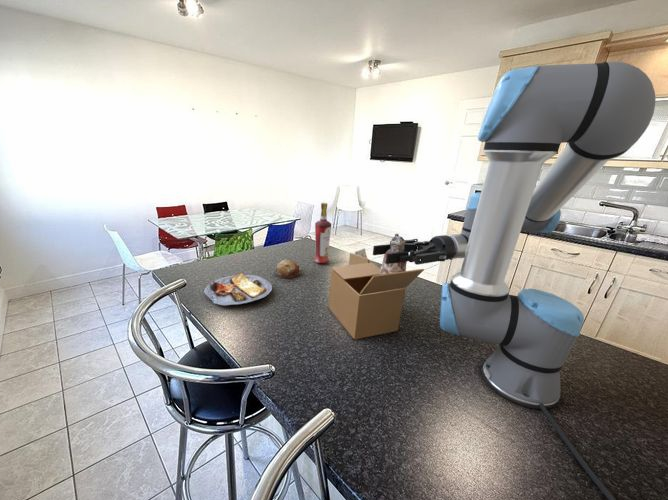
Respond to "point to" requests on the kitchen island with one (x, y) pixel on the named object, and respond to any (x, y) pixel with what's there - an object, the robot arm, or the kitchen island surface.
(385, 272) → the figurine
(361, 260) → the sandwich container
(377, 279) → the flap
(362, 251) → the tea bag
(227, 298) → the food plate
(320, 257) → the liquor
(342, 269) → the carton
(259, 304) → the kitchen island surface
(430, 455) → the kitchen island surface
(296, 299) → the kitchen island surface
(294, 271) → the bread roll
